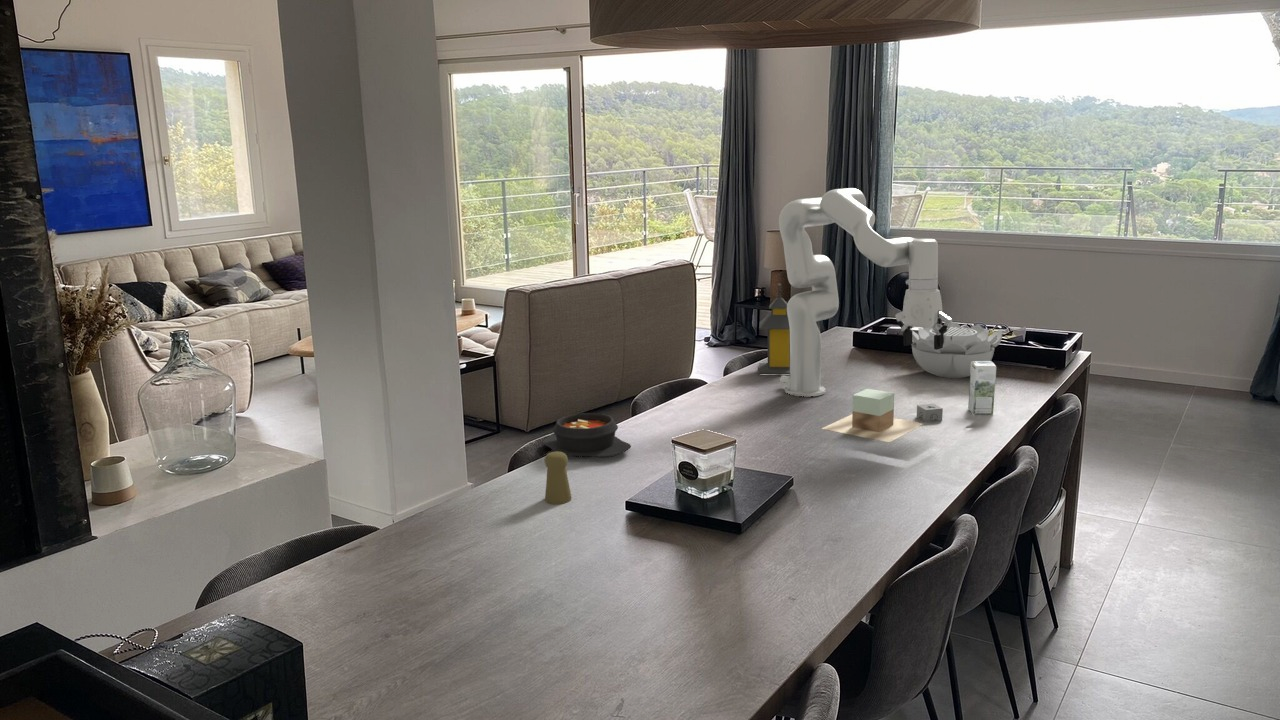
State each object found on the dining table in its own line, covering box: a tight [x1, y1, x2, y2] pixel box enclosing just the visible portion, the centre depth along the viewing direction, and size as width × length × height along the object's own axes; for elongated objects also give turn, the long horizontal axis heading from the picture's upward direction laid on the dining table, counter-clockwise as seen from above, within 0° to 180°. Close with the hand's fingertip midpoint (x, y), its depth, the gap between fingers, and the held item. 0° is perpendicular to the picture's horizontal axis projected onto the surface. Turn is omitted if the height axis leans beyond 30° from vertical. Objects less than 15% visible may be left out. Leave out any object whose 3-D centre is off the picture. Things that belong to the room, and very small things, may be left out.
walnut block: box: [851, 408, 895, 432], centre depth 254 cm, size 8×8×4 cm
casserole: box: [541, 412, 632, 459], centre depth 245 cm, size 25×19×8 cm
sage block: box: [852, 388, 895, 416], centre depth 253 cm, size 8×8×4 cm
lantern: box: [758, 283, 790, 375], centre depth 321 cm, size 14×14×30 cm
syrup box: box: [967, 360, 997, 415], centre depth 267 cm, size 6×6×14 cm
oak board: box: [821, 413, 925, 443], centre depth 254 cm, size 20×20×2 cm
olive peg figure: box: [544, 451, 572, 505], centre depth 212 cm, size 6×6×11 cm
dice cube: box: [916, 403, 944, 423], centre depth 259 cm, size 5×5×5 cm
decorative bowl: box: [910, 321, 1003, 379], centre depth 309 cm, size 30×30×15 cm
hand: (923, 346), depth 258 cm, fingers open, 9 cm apart
